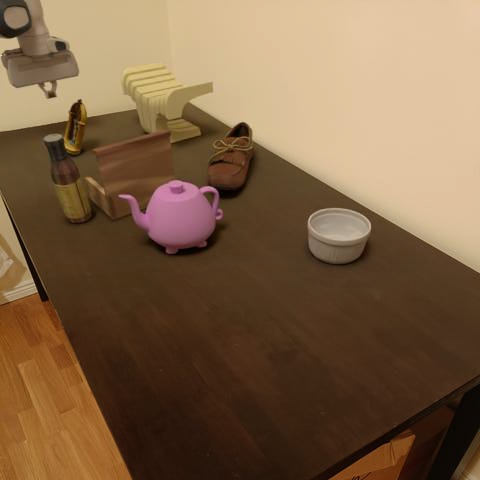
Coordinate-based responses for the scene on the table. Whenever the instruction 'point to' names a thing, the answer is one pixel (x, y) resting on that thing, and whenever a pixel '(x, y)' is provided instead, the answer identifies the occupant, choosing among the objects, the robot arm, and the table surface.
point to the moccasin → (231, 159)
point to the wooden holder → (131, 172)
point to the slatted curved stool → (161, 99)
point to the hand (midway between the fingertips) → (51, 97)
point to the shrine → (75, 128)
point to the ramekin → (337, 235)
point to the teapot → (178, 215)
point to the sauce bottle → (67, 181)
